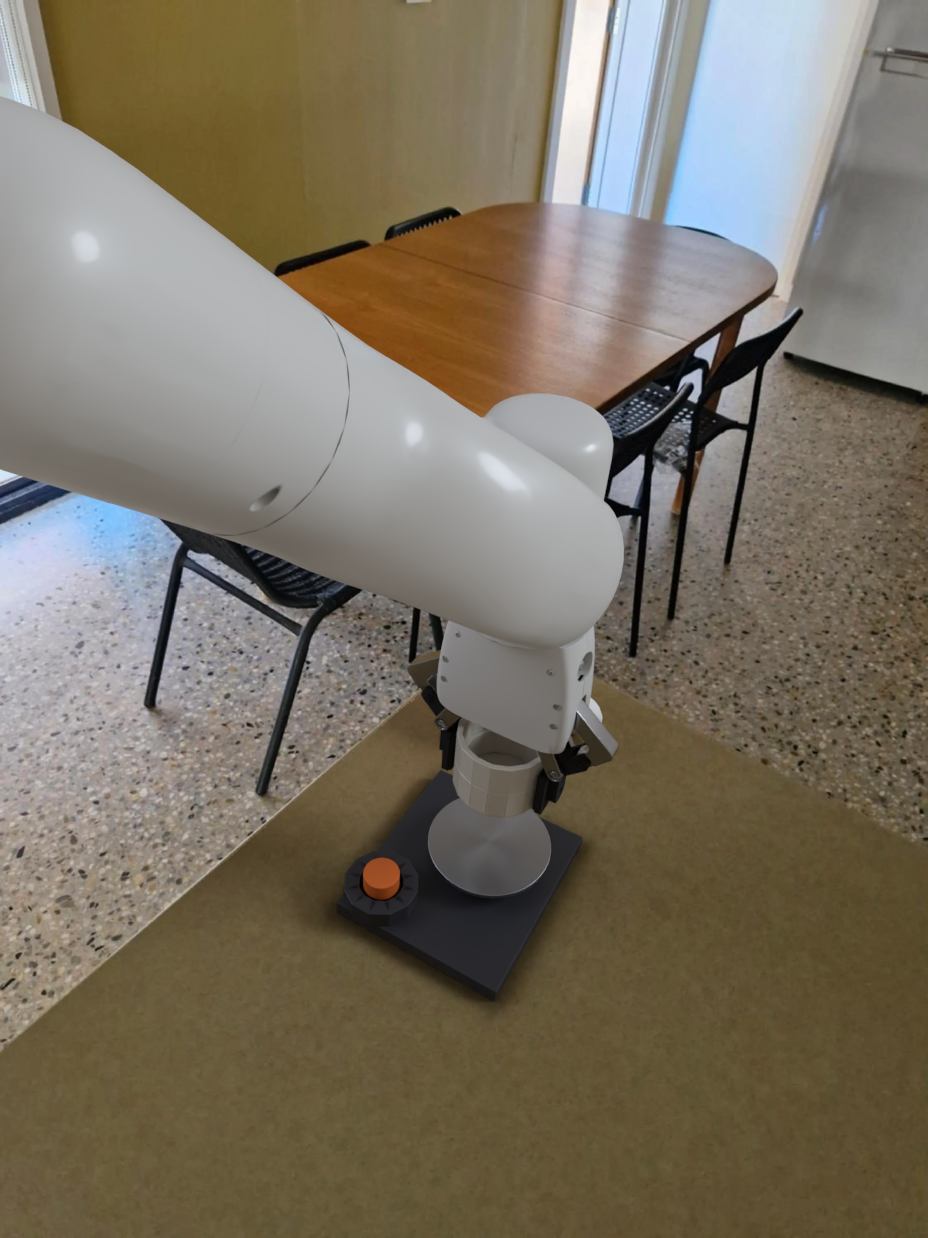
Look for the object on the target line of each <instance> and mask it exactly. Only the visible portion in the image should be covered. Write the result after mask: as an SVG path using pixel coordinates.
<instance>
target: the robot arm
mask: <svg viewBox="0 0 928 1238" xmlns="http://www.w3.org/2000/svg"><path fill="white" fill-rule="evenodd" d="M613 453H614V438H613V432H612V429H611V427H610V425H609V423H608V421H607V419H606V418H605V417H604V416H603V415H602V414H601V413H600V412H599V411H597V410H596V409H595V408H594V407H592V406H590V405H589V404H587V403H585V402H583V401H580V400H578V399H575V398H572V397H569V396H565V395H559V394H555V393H541V392H540V393H539V392H535V393H524V394H518V395H513V396H510V397H508V398H506V399H505V398H504V399H503V400H500V401H499V402H498V403H496V404H494V405H493V406H492V407H491V409H490V410H489V411H488V412H487V413H486V414H485V415H484V416H479V415H478V414H476V413H475V412H473V411H472V410H470V409H469V408H467V407H465V406H464V405H463V404H461V403H460V402H458V401H457V400H455V399H454V398H452V397H451V396H449V395H448V394H447V393H445V392H444V391H442V390H441V389H439V388H438V387H436V386H435V385H433V384H432V383H430V382H429V381H428V380H426V379H425V378H422V377H421V376H419V375H418V374H416V373H415V372H413V371H412V370H410V369H408V368H407V367H405V366H403V365H402V364H399V363H398V362H396V361H395V360H393V359H392V358H390V357H388V356H386V355H384V354H383V353H381V352H380V351H378V350H377V349H374V348H373V347H371V346H370V345H368V344H367V343H365V342H364V341H363V340H361V339H360V338H359V337H358V336H356V335H354V334H353V333H352V332H351V331H350V330H348V329H346V328H345V327H343V326H342V325H340V324H339V323H338V322H337V321H335V320H334V319H333V318H331V317H330V316H329V315H327V314H326V313H325V312H324V311H322V310H321V309H320V308H318V307H317V306H315V305H314V304H313V303H312V302H310V301H309V300H308V299H306V298H305V297H303V296H302V295H301V294H300V293H298V292H297V291H296V290H294V289H293V287H290V286H289V285H288V284H286V283H285V282H284V281H283V280H282V279H280V278H278V276H276V275H275V274H274V273H272V272H271V271H269V270H268V269H267V268H265V266H263V265H262V264H261V263H259V262H258V260H255V259H254V258H253V257H252V256H250V255H249V254H248V253H246V252H245V251H244V250H242V249H241V248H240V247H239V246H238V245H236V243H234V242H233V241H231V240H230V239H229V238H228V237H226V236H225V235H224V234H222V233H221V232H219V231H218V230H217V229H216V228H215V227H213V226H212V225H211V224H209V223H208V222H207V221H205V220H204V219H203V218H201V216H199V215H198V214H197V213H195V212H193V211H192V210H191V209H190V208H189V207H187V206H186V205H185V204H184V203H182V202H180V200H178V199H177V198H175V197H174V196H173V195H172V194H171V193H169V191H166V190H165V189H164V188H163V187H161V186H160V185H159V184H158V183H156V182H155V181H153V179H152V178H149V176H148V175H146V174H145V173H143V172H142V171H140V170H139V169H138V168H137V167H135V166H134V165H132V164H131V163H129V162H128V161H127V160H125V159H124V158H122V157H120V156H119V155H118V154H117V153H116V152H114V151H113V150H111V149H109V148H108V147H106V146H105V145H103V144H102V143H100V142H99V141H98V140H96V139H94V138H92V137H91V136H89V135H88V134H86V133H84V132H83V131H82V130H80V129H78V128H77V127H74V126H72V125H71V124H69V123H67V122H65V121H62V120H60V119H59V118H56V117H55V116H53V115H51V114H49V113H47V112H45V111H43V110H40V109H37V108H35V107H32V106H29V105H27V104H24V103H22V102H20V101H16V100H14V99H11V98H8V97H4V96H2V95H0V470H1V471H3V472H7V473H8V474H9V473H10V474H13V475H16V476H20V477H23V478H26V479H29V480H33V481H36V482H39V483H42V484H44V485H49V486H52V487H54V488H58V489H62V490H65V491H68V492H70V493H71V492H72V493H75V494H78V495H80V496H85V497H88V498H91V499H94V500H97V501H99V502H100V501H101V502H104V503H107V504H111V505H115V506H117V507H122V508H125V509H127V510H131V511H135V512H137V513H141V514H144V515H147V516H151V517H153V518H157V519H161V520H164V521H167V522H169V523H172V524H176V525H179V526H183V527H186V528H189V529H192V530H195V531H199V532H202V533H205V534H209V535H212V536H215V537H218V538H221V539H224V540H227V541H231V542H234V543H236V544H240V545H243V546H245V547H248V548H251V549H254V550H256V551H259V552H263V553H266V554H268V555H270V556H273V557H276V558H278V559H281V560H283V561H286V562H287V563H290V564H291V565H294V566H296V567H299V568H301V569H304V570H306V571H308V572H310V573H314V574H316V575H319V576H322V577H324V578H327V579H330V580H333V581H335V582H338V583H341V584H343V585H346V586H350V587H354V588H356V589H360V590H362V591H365V592H369V593H372V594H374V595H378V596H381V597H384V598H387V599H389V600H393V601H395V602H399V603H400V604H401V603H402V604H404V605H407V606H410V607H412V608H415V609H418V610H420V611H423V612H425V613H428V614H431V615H433V616H436V617H439V618H441V619H444V620H446V621H447V623H446V628H445V631H444V634H443V639H442V643H441V649H439V650H436V651H435V650H434V651H431V652H428V653H425V654H422V655H419V656H416V657H415V658H414V659H413V660H412V661H411V662H410V664H409V665H408V666H407V667H406V672H407V673H408V675H409V676H410V678H411V679H412V681H413V682H414V683H415V685H416V687H417V688H418V689H420V690H421V692H420V696H421V698H422V699H423V701H424V702H425V704H426V705H427V707H428V708H429V709H430V710H431V712H432V713H433V714H434V716H435V718H434V720H433V723H434V726H436V728H438V729H439V730H440V733H439V744H438V745H439V747H438V748H439V750H440V751H442V752H441V766H440V768H441V770H442V769H443V771H446V772H448V771H453V770H454V759H455V748H456V737H457V730H458V724H459V721H460V719H461V718H464V719H466V720H469V721H471V722H473V723H475V724H477V725H479V726H482V727H484V728H486V729H488V730H490V731H493V732H495V733H497V734H499V735H502V736H504V737H506V738H508V739H511V740H513V741H515V742H517V743H520V744H522V745H524V746H527V747H529V748H531V749H534V750H537V752H538V755H539V757H540V760H541V762H542V765H543V767H544V768H543V770H542V771H541V773H540V774H539V776H538V779H537V784H536V789H535V795H534V800H533V806H532V808H531V810H532V811H533V812H535V813H536V814H537V815H538V816H542V814H543V812H544V811H545V809H546V807H547V806H548V804H549V803H550V802H551V803H553V804H557V803H558V801H559V800H560V798H561V797H562V794H563V792H564V789H565V786H566V782H567V781H566V780H567V777H568V776H572V775H576V774H580V773H584V772H587V771H588V770H589V769H590V768H591V767H598V766H600V765H603V764H607V763H609V762H611V761H612V760H613V758H614V757H615V755H616V753H617V752H618V750H619V748H620V745H619V742H618V741H617V740H616V739H615V738H614V736H613V735H612V734H611V733H610V732H609V730H608V729H607V727H606V726H605V725H604V724H603V722H602V723H601V722H600V720H599V719H598V718H597V717H596V715H595V714H594V713H593V712H592V710H591V709H590V708H589V704H590V698H592V691H593V682H594V672H595V658H596V657H595V655H596V654H595V652H596V651H595V650H596V637H595V635H596V634H595V626H596V627H600V625H601V624H602V622H603V620H604V618H605V615H606V612H607V609H608V608H609V606H610V604H611V603H612V601H613V599H614V597H615V594H616V592H617V590H618V587H619V584H620V581H621V577H622V574H623V568H624V560H625V558H624V557H625V545H624V544H625V543H624V536H623V532H622V528H621V524H620V522H619V519H618V518H617V516H616V514H615V512H614V510H613V509H612V508H611V506H610V505H609V504H608V503H607V502H606V501H605V495H606V490H607V486H608V480H609V475H610V470H611V465H612V460H613ZM573 728H574V730H575V731H576V732H577V733H578V734H579V735H578V736H579V737H580V738H581V740H582V741H583V743H580V744H577V745H576V744H575V742H574V739H573V736H572V734H573V733H572V731H573Z"/></svg>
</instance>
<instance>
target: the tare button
mask: <svg viewBox="0 0 928 1238" xmlns="http://www.w3.org/2000/svg"><path fill="white" fill-rule="evenodd" d="M399 883H400V870H399V867H398V866H397V864H396V863H395V862H394V861H392V860H390V859H388V858H376V859H373V860H371V861H370V862H369V863H368V864H367V865H366V866H365V868H364V871H363V887H364V890H365V892H366V893H367V895H368V896H370V897H371V898H373V899H377V900H385V899H388V898H391V897H392V896H394V895H395V894H396V892H397V891H398V889H399Z"/></svg>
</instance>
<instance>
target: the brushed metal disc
mask: <svg viewBox="0 0 928 1238" xmlns="http://www.w3.org/2000/svg"><path fill="white" fill-rule="evenodd" d="M539 817H540V816H539V815H538V814H537V813H535V812H534V810H533V809H532V808H531V809H529V810H528V811H526V812H525V813H523V814H520V815H517V816H513V817H507V818H497V817H490V816H487V815H483V814H481V813H479V812H477V811H475V810H473V809H472V808H470V807H469V806H468V805H467V804H466V803H465V802H464V801H463V800H462V799H461V798H459V799H457V800H455V801H453V802H451V803H449V804H448V805H446V806H445V807H444V808H443V809H442V810H441V811H440V812H439V813H438V814H437V815H436V817H435V818H434V820H433V822H432V824H431V826H430V830H429V833H428V851H429V856H430V859H431V861H432V863H433V865H434V867H435V869H436V870H437V872H438V873H439V874H440V875H441V876H442V877H443V878H444V879H445V881H447V882H448V883H449V884H451V885H452V886H453V887H455V888H457V889H458V890H460V891H462V892H465V893H467V894H470V895H473V896H477V897H482V898H505V897H510V896H513V895H517V894H519V893H522V892H524V891H525V890H527V889H529V888H530V887H532V886H533V885H534V884H535V883H537V881H538V880H539V879H540V878H541V877H542V876H543V874H544V873H545V871H546V869H547V867H548V864H549V860H550V855H551V842H550V837H549V834H548V831H547V829H546V827H545V825H544V823H543V822H542V820H541V819H540V818H539Z"/></svg>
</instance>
